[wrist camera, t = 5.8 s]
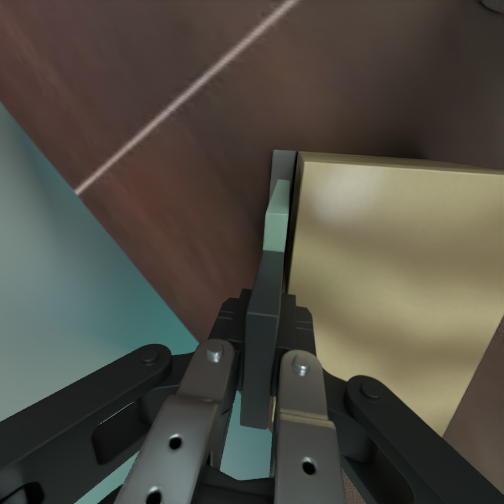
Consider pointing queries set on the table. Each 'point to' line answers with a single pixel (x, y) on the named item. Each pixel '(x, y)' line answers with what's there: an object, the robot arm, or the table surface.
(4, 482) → the robot arm
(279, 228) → the sliding door
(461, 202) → the cabinet
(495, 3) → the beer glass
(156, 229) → the table surface
